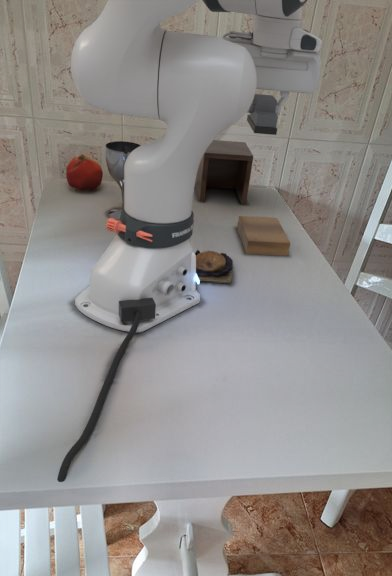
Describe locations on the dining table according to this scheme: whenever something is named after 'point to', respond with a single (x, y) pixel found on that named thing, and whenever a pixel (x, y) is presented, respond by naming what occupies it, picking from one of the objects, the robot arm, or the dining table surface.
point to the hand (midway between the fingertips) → (262, 113)
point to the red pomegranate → (84, 173)
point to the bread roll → (213, 266)
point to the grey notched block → (263, 115)
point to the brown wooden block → (263, 236)
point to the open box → (225, 168)
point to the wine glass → (118, 166)
